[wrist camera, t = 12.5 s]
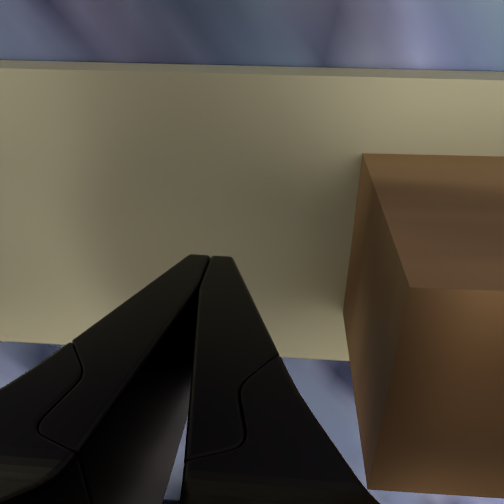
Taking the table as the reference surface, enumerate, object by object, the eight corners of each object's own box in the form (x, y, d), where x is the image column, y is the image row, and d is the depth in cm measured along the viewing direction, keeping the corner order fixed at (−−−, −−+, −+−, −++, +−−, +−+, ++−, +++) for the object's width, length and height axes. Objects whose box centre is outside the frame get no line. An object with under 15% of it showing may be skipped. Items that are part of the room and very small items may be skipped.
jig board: (872, 369, 12) (906, 393, 12) (-83, 316, 14) (-102, 335, 13) (1142, 86, 9) (1215, 97, 8) (-202, 55, 10) (-238, 62, 9)
